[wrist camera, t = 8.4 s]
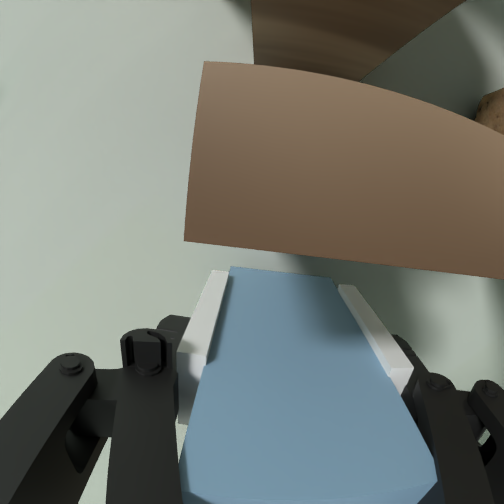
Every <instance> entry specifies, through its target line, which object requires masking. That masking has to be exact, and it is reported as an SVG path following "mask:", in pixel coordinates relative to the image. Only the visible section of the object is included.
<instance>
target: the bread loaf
mask: <svg viewBox="0 0 504 504" xmlns="http://www.w3.org/2000/svg"><path fill="white" fill-rule="evenodd" d="M475 122H477V123H479V124H482V125H484V126H486V127H488V128H490V129H492V130H494V131H496V132H498V133H500V134H502V135H504V88H502V89H500V90H497V91H495V92H493V93H490V94H487V95H485V96H483V98H482V99H481V101H480V103H479V106H478V109H477V115H476V118H475Z"/></svg>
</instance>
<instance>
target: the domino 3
mask: <svg viewBox="0 0 504 504" xmlns="http://www.w3.org/2000/svg"><path fill="white" fill-rule="evenodd" d="M179 474H180V483H181V492H182V500H183V504H417V503H418V502H419V501H420V500H421V499H422V498H423V497H424V496H425V494H426V493H427V492H428V491H429V490H430V489H431V488H432V487H433V486H434V484H435V483H436V482H437V475H436V470H435V464H434V459H433V457H432V455H431V453H430V451H429V449H428V447H427V445H426V443H425V441H424V439H423V437H422V435H421V433H420V431H419V429H418V428H417V426H416V424H415V422H414V420H413V418H412V416H411V414H410V413H409V411H408V409H407V407H406V405H405V403H404V401H403V400H402V398H401V396H400V394H399V392H398V391H397V389H396V387H395V385H394V383H393V382H392V380H391V378H390V377H388V376H387V374H386V372H385V370H384V368H383V367H382V365H381V363H380V361H379V360H378V358H377V356H376V354H375V353H374V351H373V349H372V347H371V346H370V344H369V342H368V340H367V339H366V337H365V335H364V334H363V332H362V330H361V329H360V327H359V325H358V323H357V322H356V320H355V318H354V317H353V315H352V313H351V312H350V310H349V308H348V307H347V305H346V303H345V302H344V300H343V299H342V297H341V295H340V294H339V292H338V289H337V287H336V286H335V284H334V283H333V281H332V280H331V278H329V277H320V276H311V275H302V274H293V273H284V272H275V271H266V270H258V269H249V268H241V267H232V266H231V268H230V271H229V279H228V282H227V286H226V290H225V294H224V297H223V301H222V305H221V309H220V313H219V316H218V320H217V324H216V328H215V332H214V336H213V339H212V343H211V347H210V351H209V355H208V359H207V363H206V366H204V367H203V370H202V374H201V378H200V382H199V386H198V389H197V393H196V397H195V401H194V405H193V409H192V412H191V416H190V420H189V424H188V428H187V432H186V436H185V440H184V444H183V448H182V452H181V456H180V460H179Z"/></svg>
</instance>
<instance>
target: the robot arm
mask: <svg viewBox="0 0 504 504" xmlns="http://www.w3.org/2000/svg"><path fill="white" fill-rule="evenodd" d="M228 279H229V272H227V271H219V270H212V271H211V273H210V276H209V278H208V280H207V282H206V285H205V287H204V289H203V291H202V294H201V296H200V298H199V300H198V303H197V305H196V307H195V310H194V312H193V314H192V316H191V318H189V317H183V316H176V315H169V316H167V317H166V318H164V319H162V320H161V321H160V323H159V325H158V326H157V329H156V330H155V329H148V328H146V329H136V330H132V331H129V332H128V333H126V334H124V335H123V336H122V338H121V340H120V344H121V353H122V362H123V368H120V369H95V366H94V362H93V361H92V360H91V359H90V358H89V357H88V356H86V355H83V354H80V353H65V354H62V355H59V356H57V357H56V358H54V359H53V360H52V361H51V362H50V363H49V364H48V365H47V366H46V367H45V369H44V370H43V371H42V372H41V373H40V374H39V375H38V376H37V377H36V379H35V380H34V381H33V382H32V383H31V384H30V385H29V387H28V388H27V389H26V390H25V391H24V392H23V393H22V395H21V396H20V397H19V398H18V399H17V400H16V402H15V403H14V404H13V405H12V406H11V408H10V409H9V410H8V411H7V412H6V414H5V415H4V416H3V417H2V418H1V420H0V504H78V502H79V500H80V497H81V495H82V493H83V491H84V488H85V486H86V484H87V482H88V480H89V477H90V475H91V473H92V471H93V469H94V466H95V464H96V462H97V460H98V458H99V456H100V454H101V451H102V449H103V447H104V445H105V443H106V441H107V439H108V437H112V439H111V448H110V457H109V467H108V478H107V491H106V504H183V500H182V492H181V483H180V474H179V464H178V453H177V441H176V428H175V421H176V418H177V414H178V423H179V424H185V425H188V424H189V420H190V416H191V412H192V409H193V405H194V401H195V397H196V393H197V389H198V386H199V382H200V378H201V374H202V370H203V367H204V366H206V363H207V359H208V355H209V351H210V347H211V343H212V339H213V336H214V332H215V328H216V324H217V320H218V316H219V313H220V309H221V305H222V301H223V297H224V294H225V290H226V286H227V282H228ZM338 292H339V294H340V295H341V297H342V299H343V300H344V302H345V303H346V305H347V307H348V308H349V310H350V312H351V313H352V315H353V317H354V318H355V320H356V322H357V323H358V325H359V327H360V329H361V330H362V332H363V334H364V335H365V337H366V339H367V340H368V342H369V344H370V346H371V347H372V349H373V351H374V353H375V354H376V356H377V358H378V360H379V361H380V363H381V365H382V367H383V368H384V370H385V372H386V374H387V376H388V377H390V378H391V380H392V382H393V383H394V385H395V387H396V389H397V391H398V392H399V394H400V396H401V398H402V400H403V401H404V403H405V405H406V407H407V409H408V411H409V413H410V414H411V416H412V418H413V420H414V422H415V424H416V426H417V428H418V429H419V431H420V433H421V435H422V437H423V439H424V441H425V443H426V445H427V447H428V449H429V451H430V453H431V455H432V457H433V459H434V464H435V470H436V475H437V482H436V483H435V484H434V486H433V487H432V488H431V489H430V490H429V491H428V492H427V493H426V494H425V496H424V497H423V498H422V499H421V500H420V501H419V502H418V503H417V504H504V390H503V389H502V388H501V387H500V386H499V385H498V384H496V383H494V382H493V381H490V380H479V381H477V382H476V383H475V384H474V386H473V388H472V390H471V392H468V391H460V390H456V389H455V386H454V385H453V383H452V382H451V381H450V380H449V379H448V378H446V377H445V376H442V375H440V374H437V373H429V371H428V370H427V369H426V367H425V366H424V365H423V363H422V362H421V361H420V359H419V358H418V356H416V354H415V352H414V351H413V350H412V348H411V347H410V346H409V345H408V343H407V342H406V341H405V340H403V339H402V338H401V337H399V336H398V335H391V334H390V333H389V331H388V330H387V329H386V327H385V326H384V324H383V323H382V322H381V320H380V319H379V318H378V316H377V315H376V314H375V312H374V311H373V310H372V308H371V307H370V306H369V304H368V303H367V302H366V300H365V299H364V298H363V296H362V295H361V294H360V292H359V291H358V290H357V288H356V287H355V286H354V285H345V284H339V286H338ZM486 429H487V430H488V431H489V433H490V434H491V435H490V436H489V438H488V439H487V440H486V442H485V443H484V444H483V445H481V444H480V443H479V442H478V440H479V439H480V438H481V436H482V435H483V433H484V432H485V430H486Z"/></svg>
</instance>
